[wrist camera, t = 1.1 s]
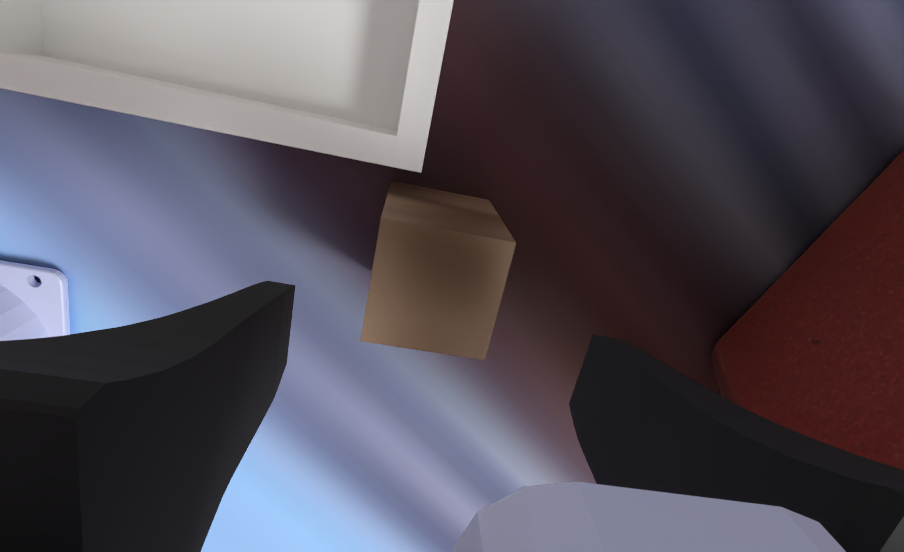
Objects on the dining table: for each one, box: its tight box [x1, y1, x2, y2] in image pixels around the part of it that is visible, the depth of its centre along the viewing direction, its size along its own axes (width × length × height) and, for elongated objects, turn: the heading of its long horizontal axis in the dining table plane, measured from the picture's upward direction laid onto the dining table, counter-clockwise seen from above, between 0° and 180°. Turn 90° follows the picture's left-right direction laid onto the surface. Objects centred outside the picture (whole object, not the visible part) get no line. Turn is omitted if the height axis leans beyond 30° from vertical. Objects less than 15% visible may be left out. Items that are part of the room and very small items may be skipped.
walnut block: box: [361, 181, 516, 360], centre depth 18 cm, size 4×4×6 cm
